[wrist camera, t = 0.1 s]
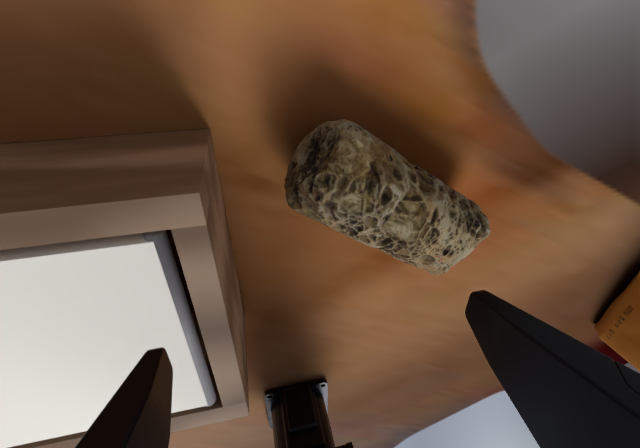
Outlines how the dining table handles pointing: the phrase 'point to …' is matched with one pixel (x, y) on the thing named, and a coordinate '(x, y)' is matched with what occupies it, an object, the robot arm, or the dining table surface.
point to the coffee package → (623, 324)
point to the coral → (381, 198)
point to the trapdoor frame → (139, 217)
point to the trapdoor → (90, 331)
